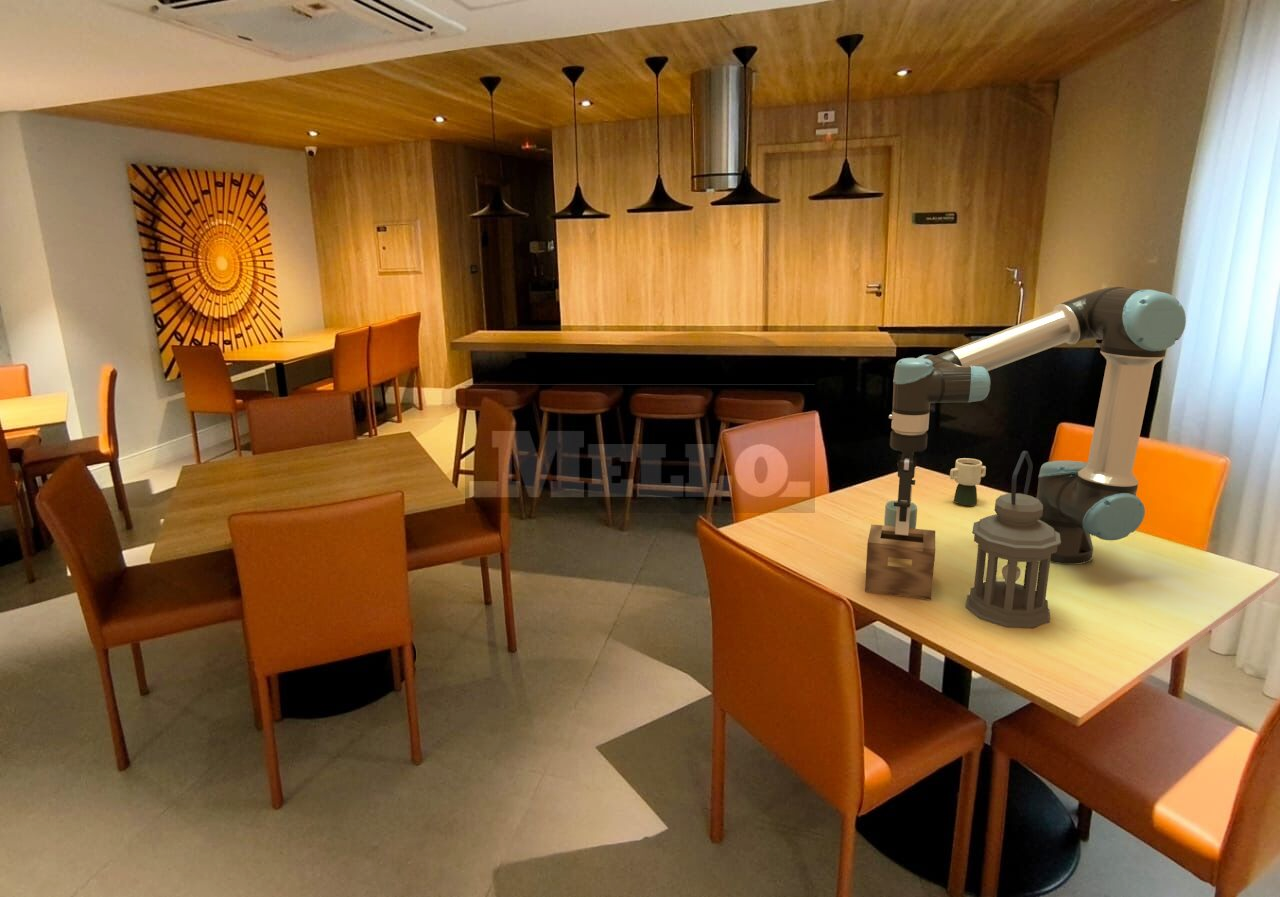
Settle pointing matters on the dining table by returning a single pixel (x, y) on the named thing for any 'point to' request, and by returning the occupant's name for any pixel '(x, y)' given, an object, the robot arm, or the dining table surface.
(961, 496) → the character mug
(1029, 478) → the lantern
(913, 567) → the coin box
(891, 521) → the cup
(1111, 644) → the dining table surface
